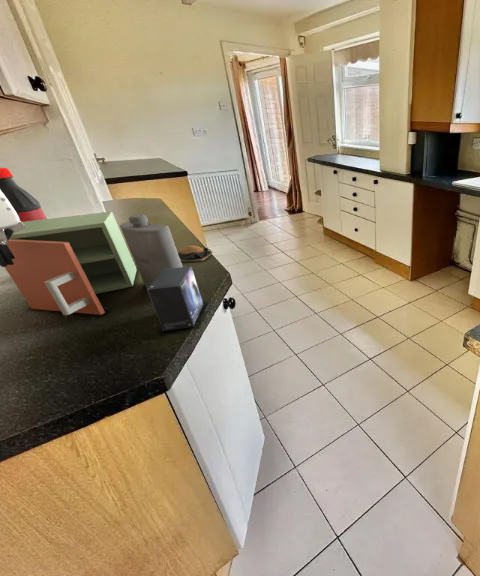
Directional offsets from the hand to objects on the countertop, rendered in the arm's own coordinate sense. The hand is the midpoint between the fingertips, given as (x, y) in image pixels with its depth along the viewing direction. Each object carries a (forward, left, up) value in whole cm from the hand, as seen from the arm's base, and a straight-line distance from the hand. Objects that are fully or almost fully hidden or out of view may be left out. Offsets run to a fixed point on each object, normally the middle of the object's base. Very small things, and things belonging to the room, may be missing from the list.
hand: (6, 264), depth 63 cm
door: (+1, +3, -15) cm, 15 cm away
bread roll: (+30, +28, -15) cm, 44 cm away
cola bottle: (-6, +36, -15) cm, 40 cm away
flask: (+23, +6, -15) cm, 28 cm away
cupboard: (+5, +19, -15) cm, 25 cm away
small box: (+27, -13, -15) cm, 34 cm away
